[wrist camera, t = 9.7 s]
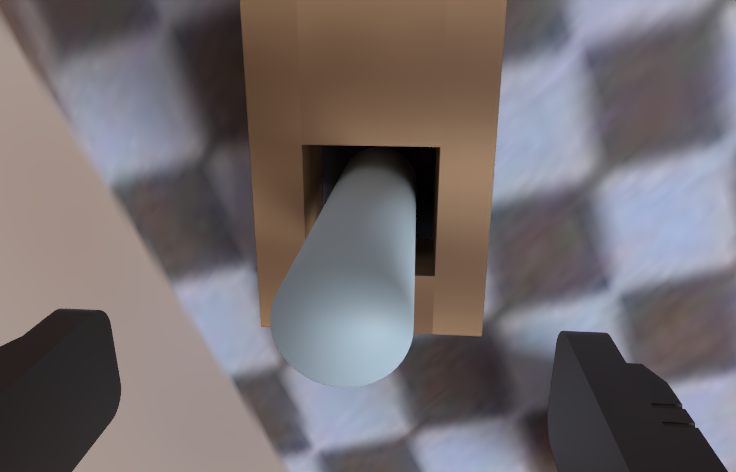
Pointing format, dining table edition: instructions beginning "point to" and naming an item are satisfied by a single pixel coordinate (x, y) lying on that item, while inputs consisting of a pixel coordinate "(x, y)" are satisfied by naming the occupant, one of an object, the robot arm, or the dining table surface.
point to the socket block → (377, 128)
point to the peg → (353, 277)
